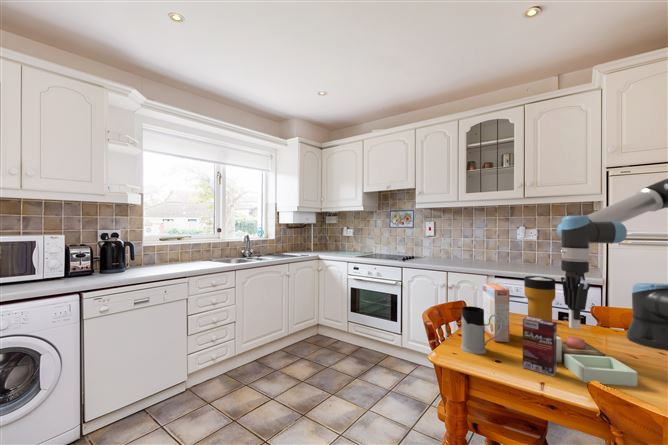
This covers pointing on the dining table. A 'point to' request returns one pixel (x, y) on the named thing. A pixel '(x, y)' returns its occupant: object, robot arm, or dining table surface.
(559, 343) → the open box
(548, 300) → the flashlight
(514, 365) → the dining table surface
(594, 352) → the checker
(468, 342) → the glass holder
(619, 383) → the trough
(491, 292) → the cracker box
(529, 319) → the supplement box
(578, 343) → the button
